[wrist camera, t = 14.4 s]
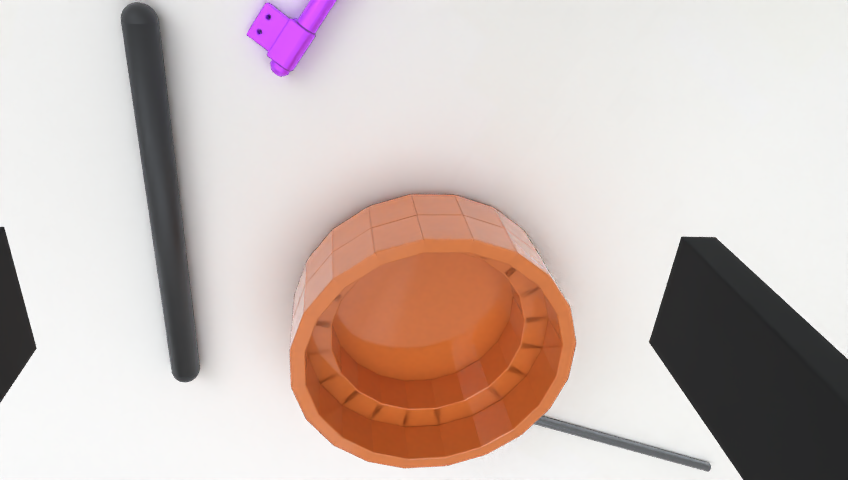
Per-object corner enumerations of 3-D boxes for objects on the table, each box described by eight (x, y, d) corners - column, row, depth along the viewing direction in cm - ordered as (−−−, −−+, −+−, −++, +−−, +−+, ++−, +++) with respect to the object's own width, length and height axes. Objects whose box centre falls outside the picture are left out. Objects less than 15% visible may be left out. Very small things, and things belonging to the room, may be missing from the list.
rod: (504, 403, 45) (506, 411, 44) (708, 460, 51) (712, 467, 50) (499, 410, 45) (501, 417, 44) (702, 466, 51) (706, 473, 50)
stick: (47, 56, 35) (124, -2, 28) (76, 53, 36) (158, -4, 29) (172, 385, 39) (265, 405, 32) (195, 373, 40) (290, 389, 33)
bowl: (291, 188, 35) (285, 239, 30) (561, 190, 37) (600, 238, 32) (298, 403, 42) (294, 475, 37) (524, 394, 44) (550, 461, 39)
